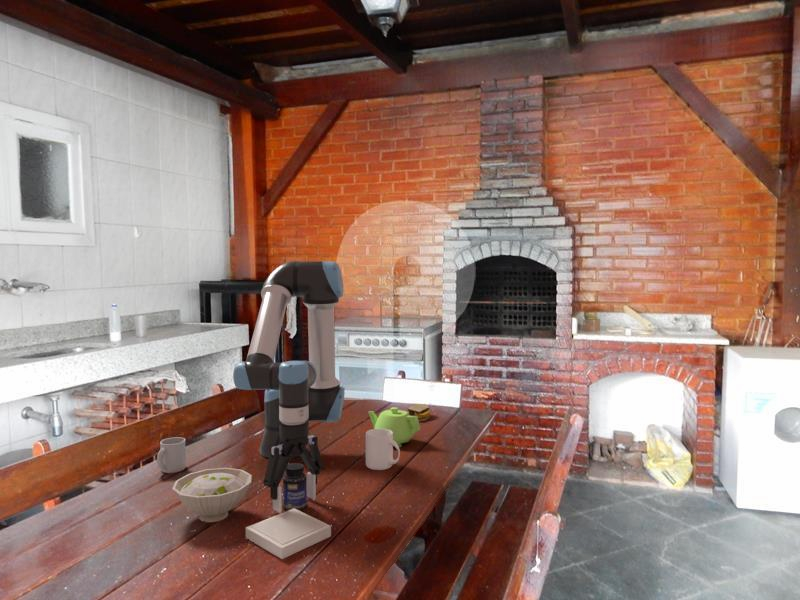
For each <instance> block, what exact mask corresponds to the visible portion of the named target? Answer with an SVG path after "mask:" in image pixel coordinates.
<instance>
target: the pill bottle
mask: <svg viewBox="0 0 800 600" xmlns="http://www.w3.org/2000/svg"><path fill="white" fill-rule="evenodd" d="M304 471H305V465H304V464H302V463H298V462H297V463H295V462H293V463H292V462H291V463H288V465H287V468H286V470H285V472H286V473H284V474H283V477H282V508H283V510H285V511H289V510H291V509H294V508H295V509H297V510H299V511H302V510H304V509H305V508H306V507H307V474H305V473H304Z"/></svg>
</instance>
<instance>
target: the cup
mask: <svg viewBox="0 0 800 600" xmlns="http://www.w3.org/2000/svg"><path fill="white" fill-rule="evenodd" d="M159 443H160V450H159V451H158V453H157V456H156V465H157V467H158V469H159V470H160V471H162V473H164V474H165V473H166V474H175V473H180V472H182V471H184V470H185V469H186V466H187V462H186V461H187V458H186V457H187V456H186V452H187V451H186V438H184V437H179V436H178V437H177V436H176V437H175V436H174V437H169V438H165V439H164V438H163V439H162V440H161V441H160V442H159Z"/></svg>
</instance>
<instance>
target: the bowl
mask: <svg viewBox="0 0 800 600" xmlns="http://www.w3.org/2000/svg"><path fill="white" fill-rule="evenodd" d="M252 476H253V474H250V473H249V472H248V471H246V470H243V469H238V468H230V467H219V468H207V469H206V468H205V469H202V470H198V471H194V472H191V473H187V474H185V475H184V476H182V477H180V478H178V479H177V480H175V482H174V484H173V486H172V488H171V489H172V491H173V493H174V494H175V495H176V497H177V499H178V500H179V501H180V502H181V503H182V504H184V506H186V507H187V508H188V509H189V510H190V511H191V512H192V513H194V514H196V515H199V517H198V519H199V520H200V521H202V522H204V521H205V522H204V523H216V522H220V521H222V520H224V519H226V518H227V517H228V516H229V511H230V510H231V509H233V508H234V507H236V506H237V505H238V504H239V502H240V501H241V500H242V499H243V498H244V496H245V495H246V494H247V492H248V490H249V488H250V485H251V484H252Z"/></svg>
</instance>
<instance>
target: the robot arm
mask: <svg viewBox="0 0 800 600" xmlns="http://www.w3.org/2000/svg"><path fill="white" fill-rule="evenodd" d="M343 280H344V279H343V275H342V270H341V268H340V265H339V264H338V262H335V261H327V260H317V261H316V260H312V261H311V260H310V261H309V260H307V261H306V260H304V261H303V260H301V261H300V260H298V261H297V260H291V261H287V262H284V263H283V264H281V265H279V266H277V267H276V268H275V269H274V270H272V272H271V273H270V274H268V277H267V278H266V280H264V282H263V286H262V288H261V291H260V296H261V304H260V308H259V310H258V311H259V312H258V315H257V319H256V322H255V326H254V330H253V334H252V338H251V341H250V346H249V348H248V353H247V356H246V360H245V361H242V362H241V361H239V362H237V363H236V365H234V368H233V371H232V373H233V374H232V376H233V377H232V379H233V384H234V386H235V388H236V389H239V390H248V391H255V390H256V391H258V390H260V391H261V390H262V391H263V390H265V391H264V400H263V402H264V431H263V435H262V437H261V442H260V445H259V454H260V456H262V457H264V458H266V459H267V458H268V462H267V466H266V471H265V474H264V478H263V482H262V484H263V486H265V487H267V488H269V489H270V491H269V492H270V499H271V500H272V511H275V512H277V513H279V514H281V513H283V512H282V508H283V500H282V486H281V485H280V483H281V481H282V480H283V477H284V475H285V472H286V468H287V465H288V464H290V462H291V461H292V459H294V458H296V457H301V460H302V461H303V462H304V464H305V465H306V468H307V469H308V472H306V498H307V497H308V498H310V499H312V500H316V498H317V497H316V496H317V495H316V485H318V475H320V473H321V470H323V469H324V464H323V460H322V459H323V458H322V456H321V453H320V450H319V445H318V436H316V435H314V434H310V426H309V425H310V422H311V423H325V424H326V423H327V424H328V423H336V422H339V421H340V419H341V417H342V413H343V407H344V402H345V401H344V400H345V393H346V392H345V387H344V386H341V382H340V380H339V379H338V378H337V377H336V350H335V349H336V347H335V345H336V344H335V342H336V341H335V340H336V338H335V337H336V336H335V334H336V333H335V307H336V306H337V305H338V304H339V302H340V300H339V298H343V296H344V281H343ZM292 298H302V303H303V304H304V306H305V307H306V308H307V323H308V324H307V329H308V330H307V331H308V360H288V361H287V360H286V361H283V362H274V361H275V357H276V352H277V348H278V344H279V339H280V335H281V329H282V326H283V323H284V317H285V313H286V309H287V306H288V304H290V303H291V301H292ZM307 445H308V449H309V450H308V449H307ZM309 451H310V452H309ZM310 455H311V456H310Z"/></svg>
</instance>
